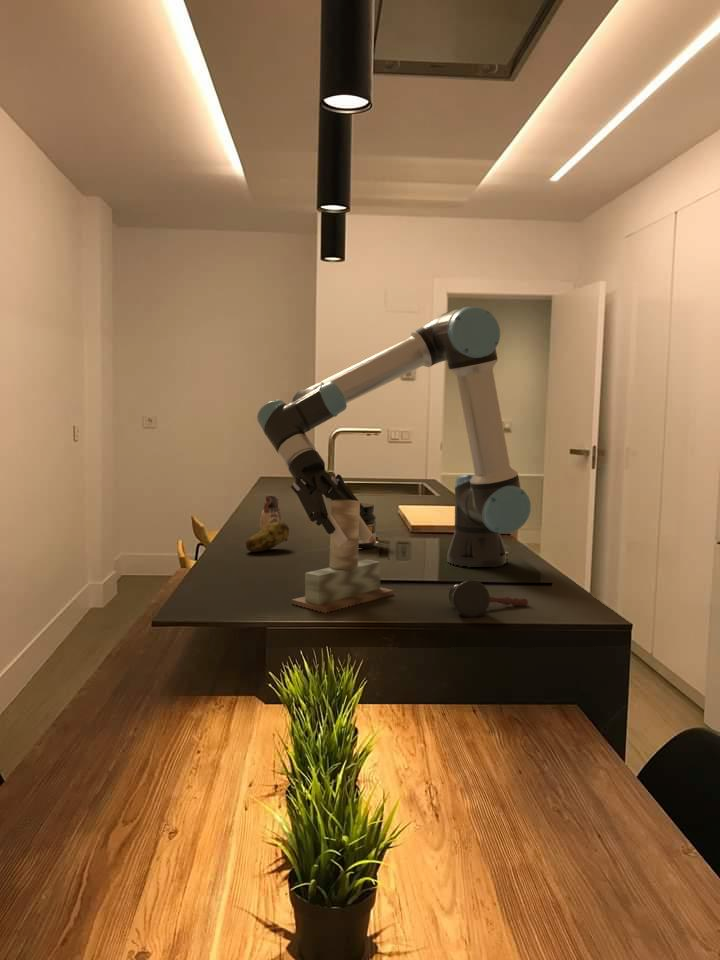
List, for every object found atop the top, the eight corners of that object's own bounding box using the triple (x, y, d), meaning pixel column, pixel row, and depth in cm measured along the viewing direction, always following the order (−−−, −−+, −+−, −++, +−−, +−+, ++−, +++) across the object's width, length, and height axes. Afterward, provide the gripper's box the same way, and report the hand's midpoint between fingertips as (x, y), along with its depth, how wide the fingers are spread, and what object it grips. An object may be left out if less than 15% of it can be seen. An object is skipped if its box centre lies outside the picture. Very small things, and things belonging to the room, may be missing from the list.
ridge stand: (359, 587, 191) (359, 556, 190) (393, 594, 184) (393, 563, 183) (291, 604, 175) (291, 571, 174) (325, 613, 168) (325, 578, 168)
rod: (352, 563, 183) (355, 499, 181) (361, 569, 177) (363, 503, 176) (326, 564, 181) (328, 499, 179) (333, 569, 175) (336, 503, 174)
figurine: (287, 531, 264) (286, 494, 262) (272, 535, 258) (272, 496, 256) (269, 529, 267) (268, 492, 266) (254, 533, 261) (254, 494, 260)
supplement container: (364, 551, 233) (364, 508, 231) (332, 547, 238) (332, 505, 237) (382, 545, 242) (382, 504, 240) (351, 542, 247) (351, 501, 246)
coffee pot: (451, 616, 165) (440, 612, 173) (538, 625, 167) (523, 620, 176) (455, 578, 165) (444, 575, 174) (542, 587, 168) (527, 584, 176)
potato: (240, 549, 234) (240, 521, 233) (285, 546, 239) (284, 518, 238) (248, 555, 227) (248, 525, 226) (293, 551, 231) (293, 523, 231)
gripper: (325, 467, 194) (377, 546, 185) (259, 474, 180) (313, 559, 170) (342, 446, 190) (396, 524, 181) (276, 450, 175) (331, 536, 166)
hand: (356, 541), depth 176 cm, fingers open, 7 cm apart
